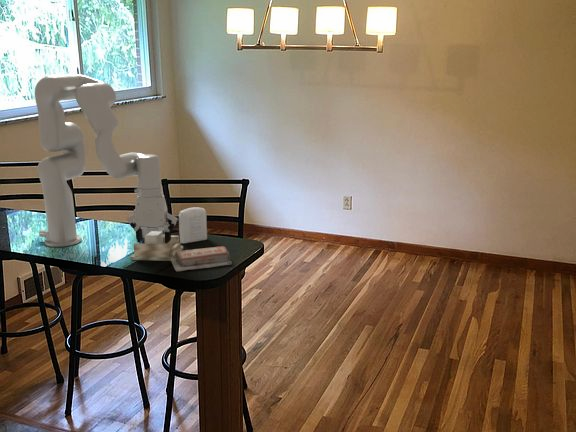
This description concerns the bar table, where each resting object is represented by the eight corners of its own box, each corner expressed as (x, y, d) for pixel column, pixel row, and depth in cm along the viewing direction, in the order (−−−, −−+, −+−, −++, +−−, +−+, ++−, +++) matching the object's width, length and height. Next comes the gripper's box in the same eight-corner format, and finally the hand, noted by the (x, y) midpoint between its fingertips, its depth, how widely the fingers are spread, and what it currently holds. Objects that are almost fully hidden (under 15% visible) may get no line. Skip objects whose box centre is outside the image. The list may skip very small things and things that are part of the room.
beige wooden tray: (130, 259, 197) (129, 245, 196) (144, 247, 210) (143, 233, 208) (171, 260, 195) (170, 246, 194) (183, 248, 208) (182, 234, 207)
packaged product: (224, 242, 199) (231, 251, 190) (224, 256, 201) (232, 266, 191) (169, 249, 193) (175, 258, 184) (170, 263, 195) (175, 273, 186)
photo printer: (204, 237, 221) (202, 204, 218) (209, 239, 218) (207, 206, 215) (178, 241, 216) (176, 208, 213) (183, 244, 212) (181, 211, 209)
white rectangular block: (145, 253, 200) (144, 236, 199) (152, 247, 206) (151, 231, 204) (157, 253, 200) (156, 236, 198) (163, 248, 205) (162, 231, 204)
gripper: (120, 194, 195) (125, 244, 199) (172, 195, 192) (175, 246, 197) (129, 189, 202) (133, 238, 206) (179, 190, 200) (182, 239, 204)
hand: (153, 241), depth 202 cm, fingers open, 9 cm apart
